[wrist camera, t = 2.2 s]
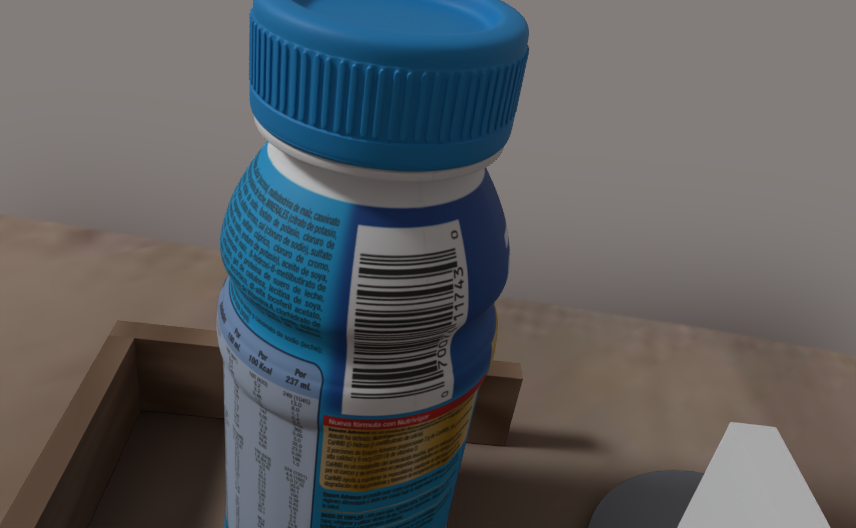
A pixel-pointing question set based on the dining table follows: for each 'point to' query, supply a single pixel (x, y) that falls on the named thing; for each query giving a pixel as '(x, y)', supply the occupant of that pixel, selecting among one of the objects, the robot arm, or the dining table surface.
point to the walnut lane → (170, 393)
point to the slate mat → (647, 501)
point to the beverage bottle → (364, 257)
